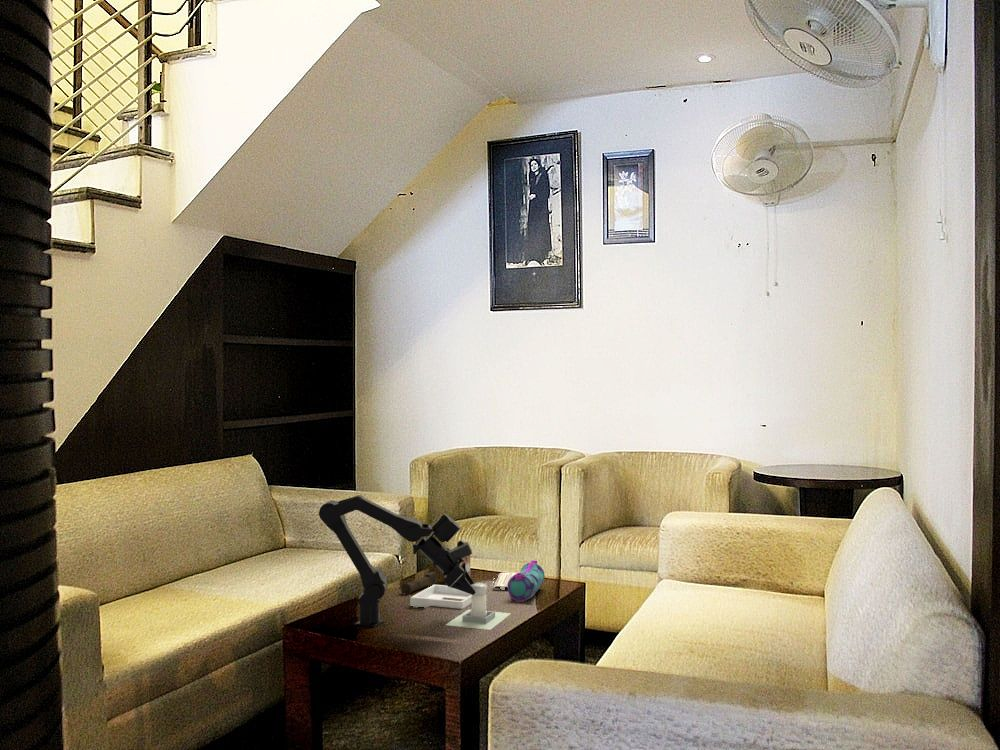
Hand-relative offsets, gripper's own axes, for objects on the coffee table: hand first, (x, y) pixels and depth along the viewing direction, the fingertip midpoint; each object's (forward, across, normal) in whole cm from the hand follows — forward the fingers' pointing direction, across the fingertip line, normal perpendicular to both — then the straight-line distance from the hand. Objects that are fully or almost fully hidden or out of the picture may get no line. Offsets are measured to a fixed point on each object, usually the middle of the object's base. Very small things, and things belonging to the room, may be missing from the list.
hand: (474, 589), depth 252 cm
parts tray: (+1, +24, +13) cm, 27 cm away
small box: (+3, +55, +11) cm, 56 cm away
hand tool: (-6, +43, +20) cm, 48 cm away
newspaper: (+16, +48, -1) cm, 51 cm away
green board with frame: (+8, 0, +6) cm, 10 cm away
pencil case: (+20, +32, -5) cm, 38 cm away
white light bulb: (+7, 0, +5) cm, 9 cm away
